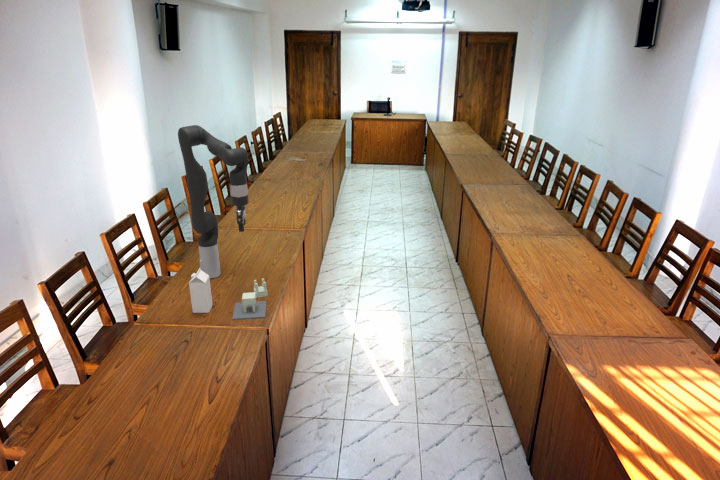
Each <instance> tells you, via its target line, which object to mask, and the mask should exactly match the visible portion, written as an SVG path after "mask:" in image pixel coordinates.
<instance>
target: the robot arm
mask: <svg viewBox="0 0 720 480" xmlns="http://www.w3.org/2000/svg"><path fill="white" fill-rule="evenodd" d="M177 137H178V138H177V139H178V143H179V148H180V151H181V155H182V159H183V163H184V164H183V165H184V169H185V177H186V183H187V189H188V190H187V191H188V195H189V202H190V217H191V218H190V219H191V225H192V228H193V230H194V232H195V233H197V234H198V235H200V236H199V237H198V239H197V244H198V252H199V253H198V254H199V260H198V261H199V268H200V269H201V270H202V271H203V272H205V273H206V274H208V275H209V279H215V278H218V277H220V276H221V273H222V272H221V264H220V255H219V253H220V252H219V246H218V244H219V243H218V239H219V225H218V219H217V217H216V215H215V214H214V212H212V211H210V210H209V211H205V201H206V198H207V194H208V192H209V191H208V190H209V182H208V177H207V173H206V171H205V169H204V168H203V166H201V165H200V163H199V162H198V160H197V158H195V155H194V152H193V147H196V146H200V145H204V146H206V147H207V148H206V149H207V150H208V151H209V152H210V153H211V154H212V155H213V156H216V157H218V158H220V160H222V162H223V163H224V164H225V165H226V166H229V167H230V166H231V167H234V166H235V168H233V169H232V170H231V171H229V175H228V177H229V193H230V200H231V201H230V203H231V205H232V206H235V214H236V216H235V217H236V224H237V225H238V231H239V232H240V233H242V232H243V233H245V232H244V231H245V227H244V226H245V225H246V224H247V223H246V214H247V212H246V211H247V210H246V208H247V207H246V206H247V205H248V204H249V203H250V200H249V189H248V183H247V182H248V181H247V171H248V165H249V153H248V151H247V150H246V148H245V147H243V146H242V147H241V146H240V147H235V148H233V147H232V146H231V145H230V144H228V143H227V142H225V141H223V140H220V139H218V138H217V137H215V136H214V135H212V134H211V133H210V132H208V131H207V130H206V129H205V128H203V127H202V126H200V125H196V124H195V125H187V126H182V127H179V128H178V131H177Z"/></svg>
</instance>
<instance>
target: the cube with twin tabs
mask: <svg viewBox="0 0 720 480" xmlns="http://www.w3.org/2000/svg"><path fill="white" fill-rule="evenodd" d="M256 299H257V298H256V292H254V291H252V292H243V293H242V296H241V302H242V305H243V306H244V313H245V312H247V310H246V308H247V305H251V304H252V307H253V312H255V308H256V302H257V300H256Z"/></svg>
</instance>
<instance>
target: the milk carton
mask: <svg viewBox="0 0 720 480" xmlns="http://www.w3.org/2000/svg"><path fill="white" fill-rule="evenodd" d="M190 278H191V279H190V280H189V282H188V286H189V287H188V288H189V294H190V301H191V308H192V313H193V314H209V313H210V312H211V310H212V307H213V297H212V289H211V281H210V279H209V275H208V274H206V273H205V272H203V271H202V270H201V269H200V267H199V268H198V270H197V272H196V273H195V272H193V273H192V274H191V276H190Z"/></svg>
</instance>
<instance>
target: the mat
mask: <svg viewBox="0 0 720 480" xmlns="http://www.w3.org/2000/svg"><path fill="white" fill-rule="evenodd" d="M246 310H247V312H245V313H244V306H243V305H242V301H241V302H234V308H233V314H232V321H235V320H236V319H240V320H249V319H250V320H252V319H266V316H265V315H266V313H267V300H263V301H262V300H261V301H257V300H256V308H255V312H253V307H252V304H251V305H247V308H246ZM236 321H237V320H236Z"/></svg>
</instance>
